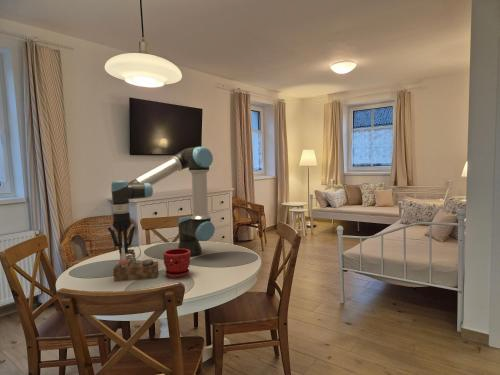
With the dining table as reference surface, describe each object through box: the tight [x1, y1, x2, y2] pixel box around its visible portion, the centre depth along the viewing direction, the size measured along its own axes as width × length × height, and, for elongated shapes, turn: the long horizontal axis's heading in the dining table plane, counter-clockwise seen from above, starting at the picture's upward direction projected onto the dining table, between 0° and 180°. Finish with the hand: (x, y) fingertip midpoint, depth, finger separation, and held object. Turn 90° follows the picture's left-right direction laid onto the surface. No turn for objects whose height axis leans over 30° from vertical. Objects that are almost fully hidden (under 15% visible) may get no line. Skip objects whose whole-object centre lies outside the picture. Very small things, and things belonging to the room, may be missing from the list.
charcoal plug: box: [141, 258, 154, 266], centre depth 159 cm, size 5×5×7 cm
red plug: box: [118, 259, 130, 267], centre depth 157 cm, size 5×5×7 cm
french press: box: [119, 240, 142, 264], centre depth 171 cm, size 10×12×25 cm
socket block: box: [112, 261, 159, 282], centre depth 158 cm, size 20×7×6 cm, turn 100°
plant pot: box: [163, 248, 192, 278], centre depth 160 cm, size 13×13×12 cm
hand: (124, 259), depth 157 cm, fingers closed
